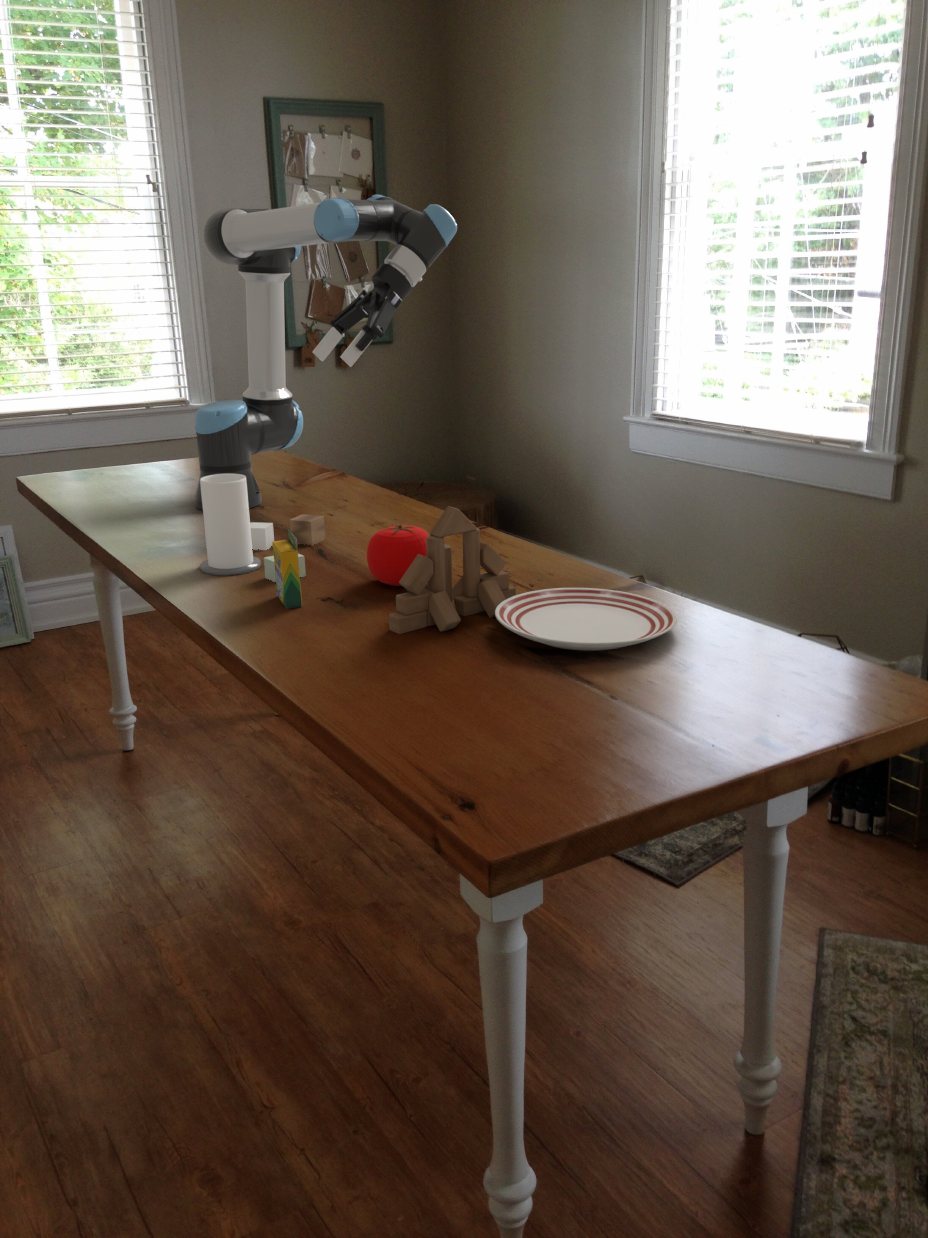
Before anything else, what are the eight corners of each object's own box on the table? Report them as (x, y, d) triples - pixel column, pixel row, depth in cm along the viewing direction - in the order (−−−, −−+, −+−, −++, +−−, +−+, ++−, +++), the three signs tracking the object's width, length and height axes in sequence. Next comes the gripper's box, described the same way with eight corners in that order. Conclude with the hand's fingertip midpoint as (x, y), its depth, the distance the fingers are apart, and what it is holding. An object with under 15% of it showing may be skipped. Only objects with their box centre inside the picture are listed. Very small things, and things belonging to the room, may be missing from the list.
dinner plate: (562, 592, 177) (563, 573, 176) (708, 626, 161) (710, 605, 159) (458, 636, 158) (457, 615, 157) (611, 679, 141) (612, 656, 140)
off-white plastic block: (245, 549, 206) (243, 527, 204) (253, 544, 210) (251, 522, 209) (266, 550, 205) (265, 528, 204) (274, 544, 209) (272, 522, 208)
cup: (258, 556, 198) (251, 473, 192) (245, 569, 190) (238, 482, 185) (216, 556, 198) (208, 473, 193) (202, 568, 191) (193, 482, 185)
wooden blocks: (417, 644, 155) (414, 527, 149) (371, 623, 164) (366, 512, 158) (541, 608, 169) (543, 501, 164) (493, 591, 179) (492, 488, 173)
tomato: (375, 595, 177) (372, 535, 173) (362, 576, 187) (359, 519, 184) (443, 588, 180) (441, 529, 176) (427, 570, 190) (425, 514, 187)
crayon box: (276, 596, 177) (270, 530, 173) (293, 594, 178) (288, 528, 174) (284, 609, 171) (279, 540, 167) (302, 606, 171) (298, 538, 168)
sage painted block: (265, 578, 187) (263, 557, 186) (294, 572, 191) (292, 551, 190) (276, 583, 184) (275, 562, 183) (305, 577, 188) (304, 555, 187)
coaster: (189, 567, 194) (188, 563, 194) (239, 555, 202) (239, 551, 201) (222, 579, 187) (221, 574, 187) (272, 566, 194) (272, 562, 194)
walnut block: (291, 543, 210) (289, 519, 208) (304, 537, 214) (302, 514, 212) (312, 546, 208) (310, 521, 206) (325, 540, 212) (323, 516, 210)
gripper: (441, 290, 195) (372, 378, 193) (382, 288, 215) (319, 367, 213) (415, 261, 190) (344, 350, 188) (357, 261, 211) (293, 341, 209)
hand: (331, 359), depth 201 cm, fingers open, 13 cm apart
